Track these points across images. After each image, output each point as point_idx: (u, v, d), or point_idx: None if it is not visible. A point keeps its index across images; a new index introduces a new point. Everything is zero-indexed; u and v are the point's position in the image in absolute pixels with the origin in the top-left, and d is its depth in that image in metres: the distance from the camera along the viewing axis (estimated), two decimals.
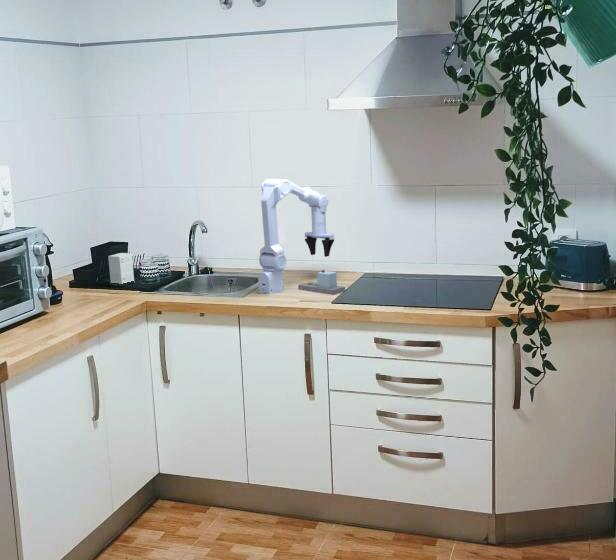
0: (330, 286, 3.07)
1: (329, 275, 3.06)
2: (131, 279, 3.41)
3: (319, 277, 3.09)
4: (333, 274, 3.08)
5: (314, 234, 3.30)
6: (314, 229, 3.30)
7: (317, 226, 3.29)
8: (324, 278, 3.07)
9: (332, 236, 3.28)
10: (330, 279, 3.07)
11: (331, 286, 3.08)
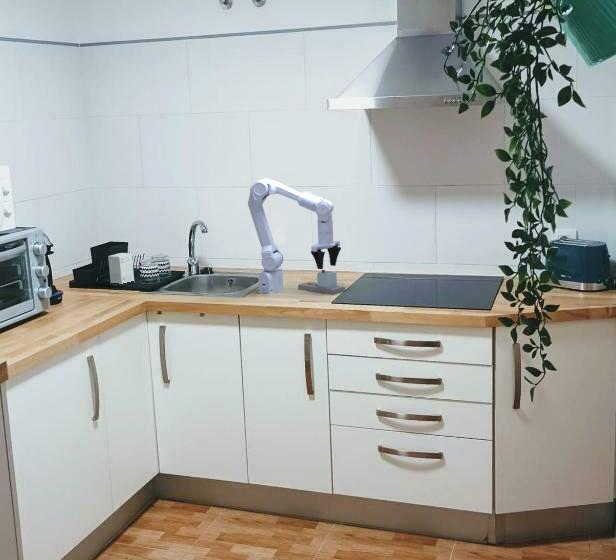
0: (330, 286, 3.07)
1: (329, 275, 3.06)
2: (131, 279, 3.41)
3: (319, 277, 3.09)
4: (333, 274, 3.08)
5: None
6: None
7: None
8: (324, 278, 3.07)
9: (313, 248, 3.02)
10: (330, 279, 3.07)
11: (331, 286, 3.08)
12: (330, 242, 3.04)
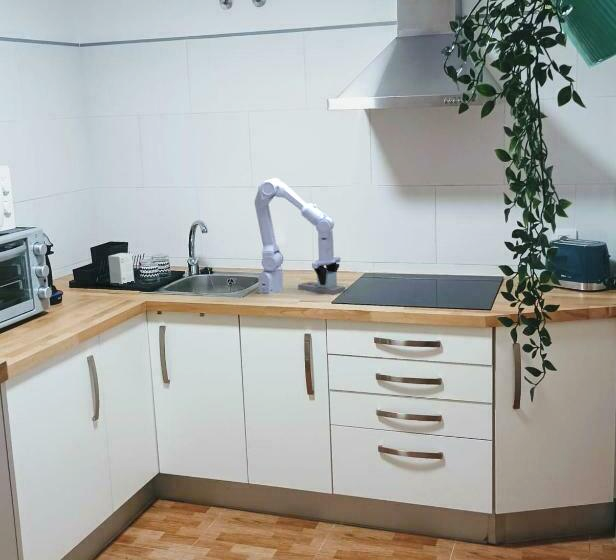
0: (330, 286, 3.07)
1: (329, 275, 3.06)
2: (131, 279, 3.41)
3: None
4: (333, 274, 3.08)
5: None
6: None
7: None
8: None
9: (313, 264, 3.03)
10: (330, 279, 3.07)
11: (331, 286, 3.08)
12: (331, 259, 3.06)
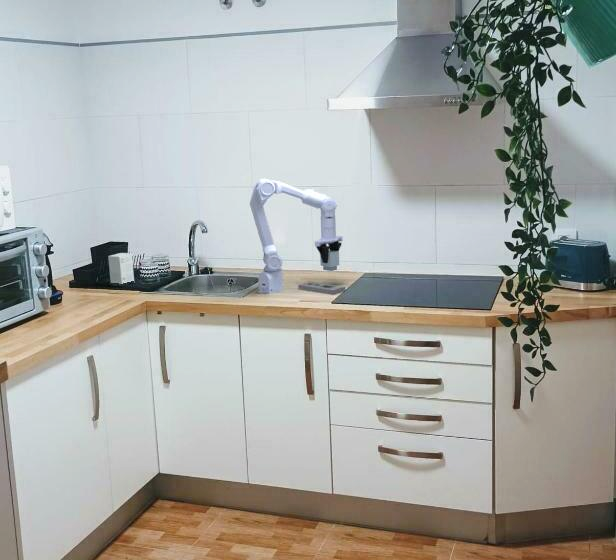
0: (332, 265, 3.15)
1: (332, 254, 3.14)
2: (131, 279, 3.41)
3: None
4: (336, 253, 3.15)
5: None
6: None
7: None
8: None
9: (316, 243, 3.11)
10: (332, 258, 3.14)
11: (333, 265, 3.15)
12: (333, 237, 3.13)
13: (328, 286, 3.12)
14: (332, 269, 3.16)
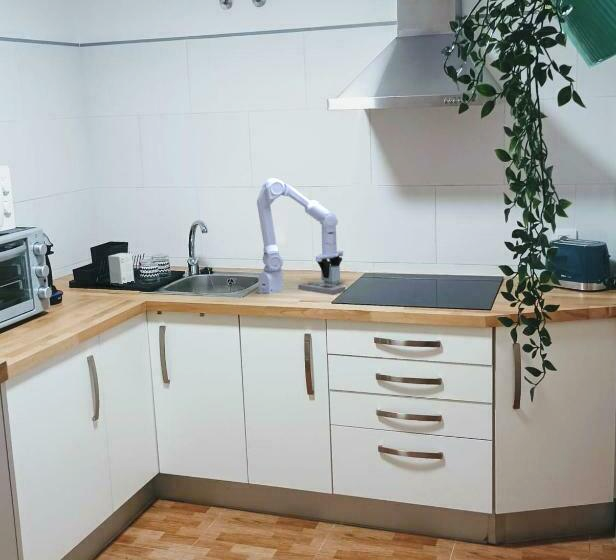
0: (333, 279, 3.17)
1: (332, 269, 3.16)
2: (131, 279, 3.41)
3: None
4: (336, 268, 3.18)
5: None
6: None
7: None
8: None
9: (317, 258, 3.13)
10: (333, 273, 3.17)
11: (334, 279, 3.18)
12: (334, 252, 3.16)
13: (328, 286, 3.12)
14: (333, 284, 3.19)
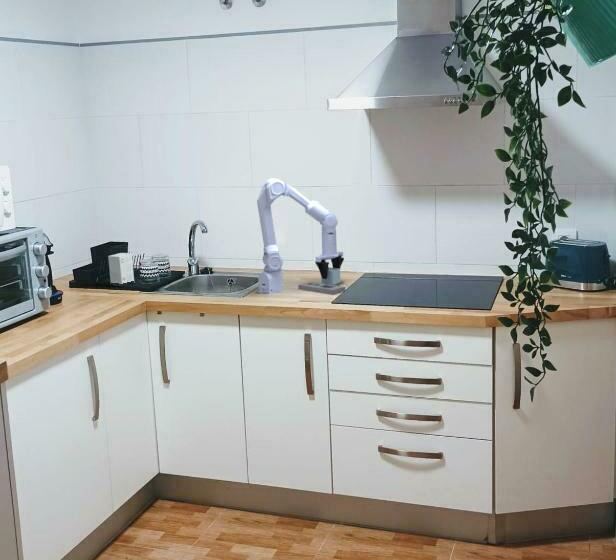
0: (334, 282, 3.18)
1: (333, 271, 3.17)
2: (131, 279, 3.41)
3: None
4: (337, 270, 3.18)
5: None
6: None
7: None
8: (328, 275, 3.18)
9: (317, 258, 3.13)
10: (334, 275, 3.17)
11: (335, 282, 3.18)
12: (334, 253, 3.16)
13: (328, 286, 3.12)
14: None
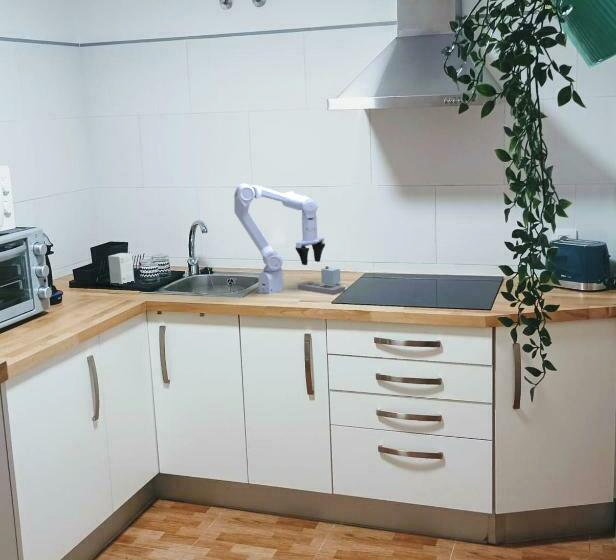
0: (334, 282, 3.18)
1: (333, 271, 3.17)
2: (131, 279, 3.41)
3: (323, 273, 3.19)
4: (337, 270, 3.18)
5: None
6: None
7: None
8: (328, 275, 3.18)
9: (297, 244, 3.10)
10: (334, 275, 3.17)
11: (335, 282, 3.18)
12: (314, 238, 3.12)
13: (328, 286, 3.12)
14: None
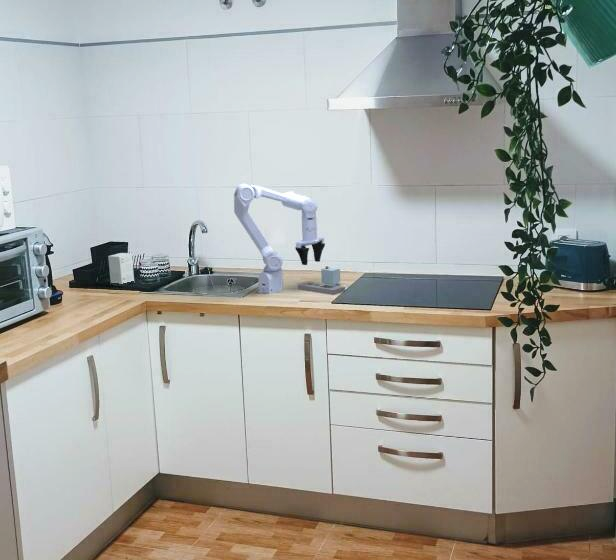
0: (334, 282, 3.18)
1: (333, 271, 3.17)
2: (131, 279, 3.41)
3: (323, 273, 3.19)
4: (337, 270, 3.18)
5: None
6: None
7: None
8: (328, 275, 3.18)
9: (297, 244, 3.10)
10: (334, 275, 3.17)
11: (335, 282, 3.18)
12: (314, 238, 3.12)
13: (328, 286, 3.12)
14: None
